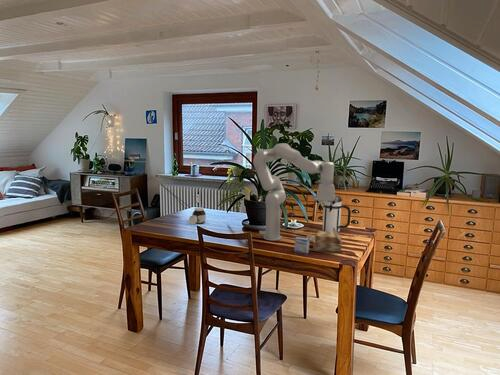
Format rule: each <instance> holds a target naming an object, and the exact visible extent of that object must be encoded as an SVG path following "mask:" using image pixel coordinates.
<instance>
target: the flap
mask: <svg viewBox="0 0 500 375" xmlns="http://www.w3.org/2000/svg"><path fill="white" fill-rule="evenodd" d="M333 233H334V234H335V236H336V237H337V238H338V240H339V241H340V242H341V244H343V242H342V236H341V235H340V233H339V232H337V231H336V230H335V228H334V227H333ZM338 233H339V234H338Z"/></svg>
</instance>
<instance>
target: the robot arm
mask: <svg viewBox="0 0 500 375" xmlns="http://www.w3.org/2000/svg"><path fill="white" fill-rule="evenodd" d="M279 159H282V160H284V161H286V162H288V163H290V164H293V166H295V167H297V168H298V169H300V170H301V171H304V172H305V173H307V174H310V175H314V174H319V173H320V179H318V183H319V184H318V188H317V194H316V195H315V196H314V197H313V200H314V201H315V203H317V205H318V210H319V212H321V210H322V201H330V210H329V212H331V210H332V205H333V204H335V203H336V202H337V201H338V199H337V197H336V196H335V195H336V190H335V185H334V174H335V163H334V162H332V161H322V160H311V159H308V158H306V157H304V156H302V154H301V152H300V151H299V150H297V149H294V148H292V147H291V145H289V144H288V143H286V142H284V143H282V142H281V143H277V144H275V145H274V146H273V147H272V148H267V149H266V148H265V149H260V150H258V151H257V152H256V153H255V155H254V157H253V166H254V169H255V172H256V174H257V178H258V179H259V182H260V185H261V187H262V189H263V190H264V191H266V192H267V191H270V192H269V193H267V194H266V196H265V199H264V200H265V230H259V232H258V233H259V234H260V235H263V236H262V238H263V239H264V240H266V241H273V242H274V241H280V240H282V238H283V236H282V235H281V234H280V232H281V207H280V206H281V204H283V203H284V202H285V201H286V199H287V196H286V191H285V188H284V186H283V183H282V181H281V179H280V178H279V176H277V175H273V174H272V172H271V169H270V168H269V166H268V165H267V163H270V162H274V161H277V160H279ZM334 198H335V201H334ZM332 201H333V202H332Z"/></svg>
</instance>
